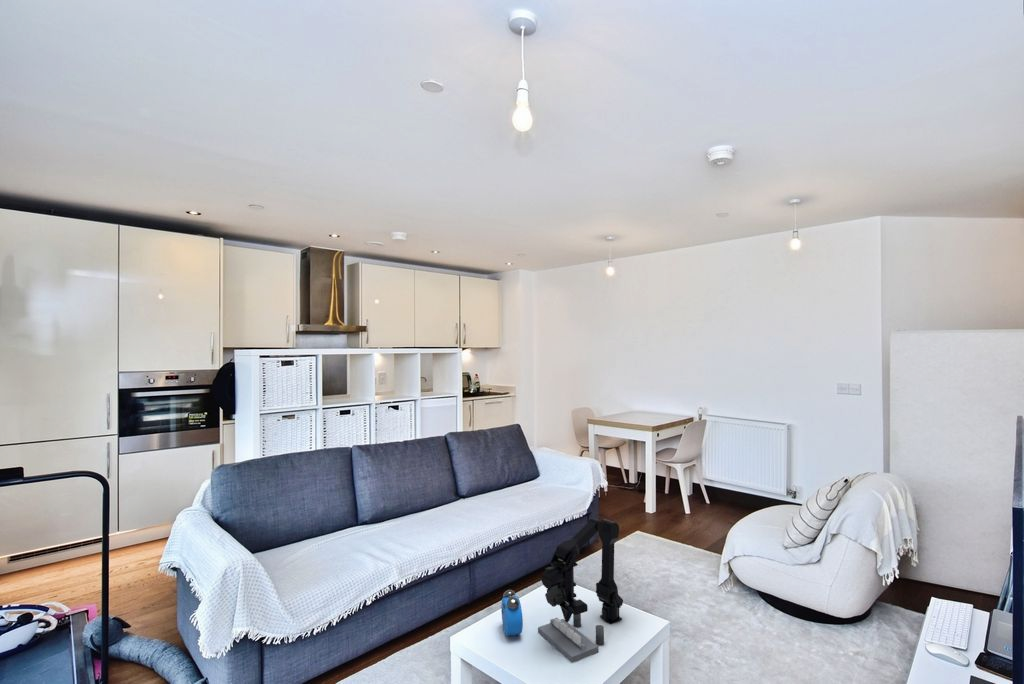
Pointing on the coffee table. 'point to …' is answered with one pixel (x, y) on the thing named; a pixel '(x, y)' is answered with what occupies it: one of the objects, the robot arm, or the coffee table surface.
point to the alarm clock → (511, 614)
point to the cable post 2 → (599, 635)
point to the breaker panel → (568, 642)
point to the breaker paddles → (567, 631)
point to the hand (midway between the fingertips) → (566, 621)
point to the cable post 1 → (577, 620)
